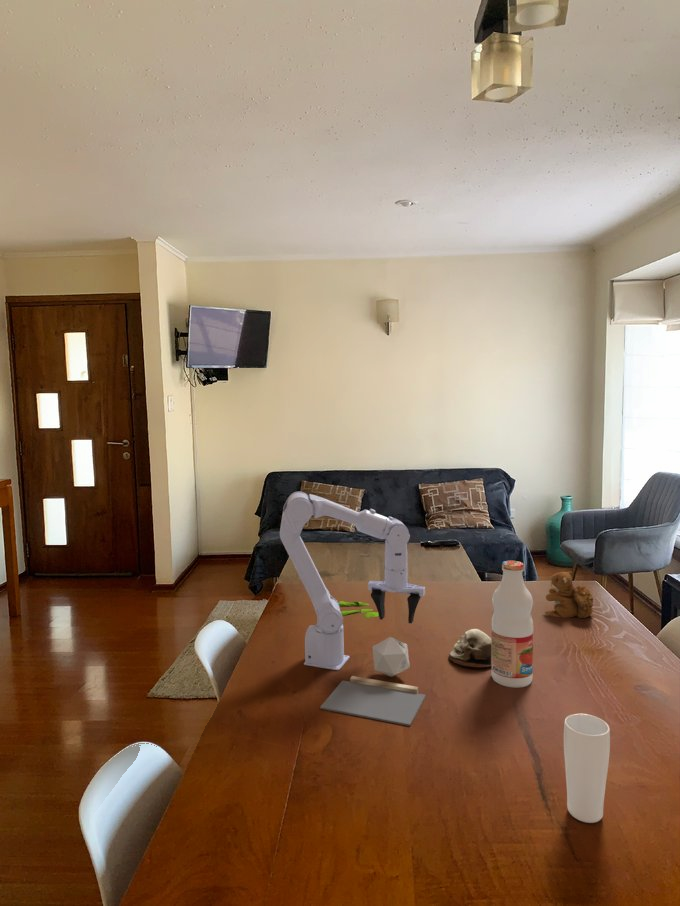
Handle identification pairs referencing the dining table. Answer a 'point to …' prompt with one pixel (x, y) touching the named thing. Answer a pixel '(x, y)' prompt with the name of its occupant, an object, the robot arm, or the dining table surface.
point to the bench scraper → (374, 702)
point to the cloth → (367, 615)
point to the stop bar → (384, 684)
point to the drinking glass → (586, 765)
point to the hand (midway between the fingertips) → (396, 620)
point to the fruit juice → (512, 629)
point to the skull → (472, 649)
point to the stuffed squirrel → (569, 597)
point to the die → (390, 657)
